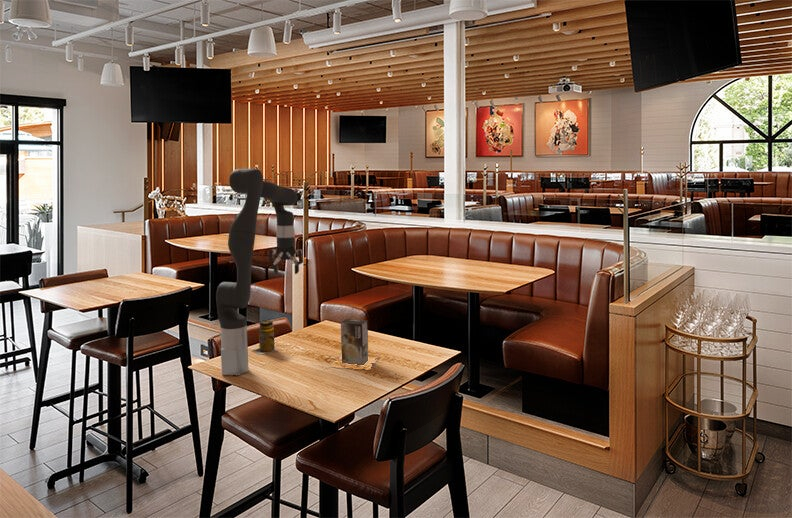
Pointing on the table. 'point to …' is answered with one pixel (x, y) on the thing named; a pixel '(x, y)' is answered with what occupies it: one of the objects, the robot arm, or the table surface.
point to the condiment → (266, 338)
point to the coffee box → (354, 341)
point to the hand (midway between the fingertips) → (286, 273)
